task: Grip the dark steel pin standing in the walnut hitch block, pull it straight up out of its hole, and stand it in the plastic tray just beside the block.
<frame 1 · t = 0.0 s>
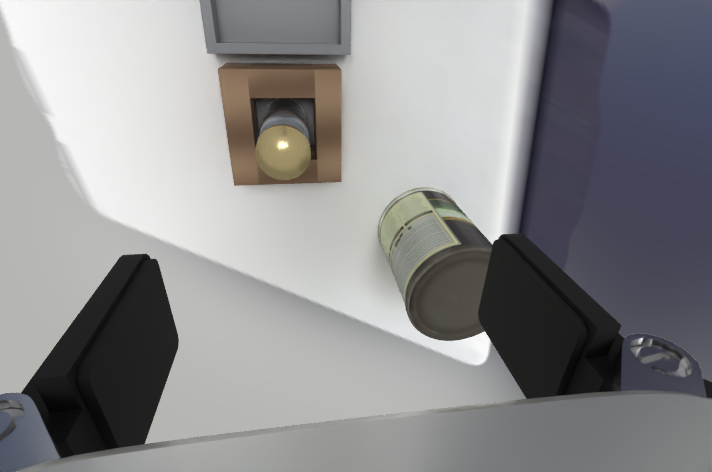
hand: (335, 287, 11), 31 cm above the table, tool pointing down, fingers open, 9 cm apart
coffee can: (418, 225, 47), on the table
steel pin: (284, 133, 33), in the hitch block
hitch block: (286, 118, 39), on the table
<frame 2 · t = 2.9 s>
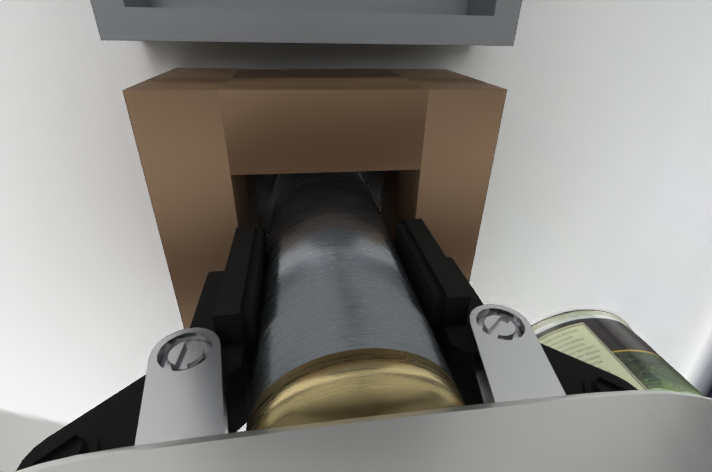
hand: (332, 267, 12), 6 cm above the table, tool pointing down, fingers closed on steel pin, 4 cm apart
coffee can: (554, 367, 25), on the table
steel pin: (332, 270, 12), in the hitch block, touching gripper
hitch block: (320, 193, 17), on the table
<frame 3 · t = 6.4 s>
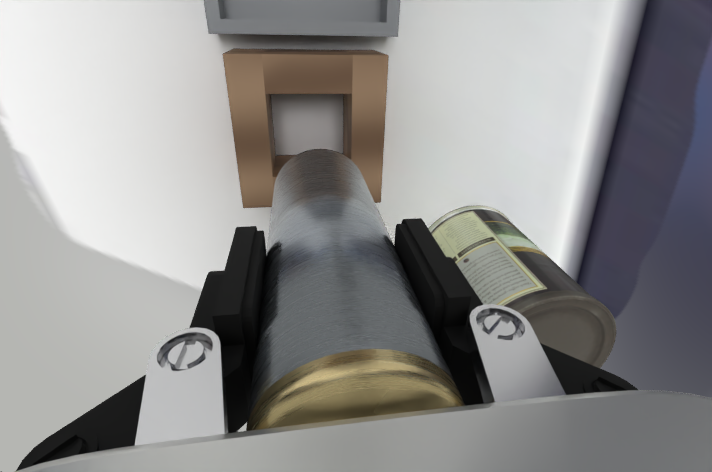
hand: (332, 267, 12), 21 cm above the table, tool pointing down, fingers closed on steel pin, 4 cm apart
coffee can: (464, 250, 39), on the table
steel pin: (332, 271, 12), point 21 cm above the table, touching gripper
hitch block: (308, 120, 30), on the table
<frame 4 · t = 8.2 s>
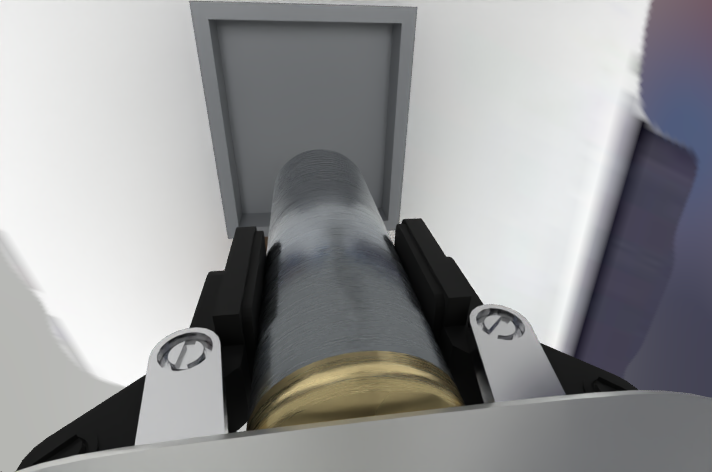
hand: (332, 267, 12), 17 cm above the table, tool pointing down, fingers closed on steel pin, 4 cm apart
steel pin: (332, 272, 12), point 18 cm above the table, touching gripper
tray: (310, 123, 27), on the table
when the fingers open (9 cm above the table, at t = 10.0 s): steel pin drops 2 cm, resting on tray.
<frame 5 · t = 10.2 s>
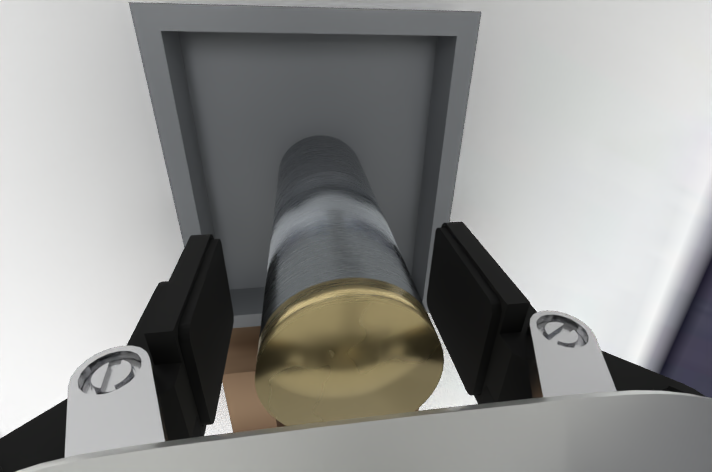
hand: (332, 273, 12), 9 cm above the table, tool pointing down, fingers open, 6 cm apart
steel pin: (330, 238, 13), in the tray, point 7 cm above the table
hitch block: (322, 360, 26), on the table
tray: (317, 172, 19), on the table
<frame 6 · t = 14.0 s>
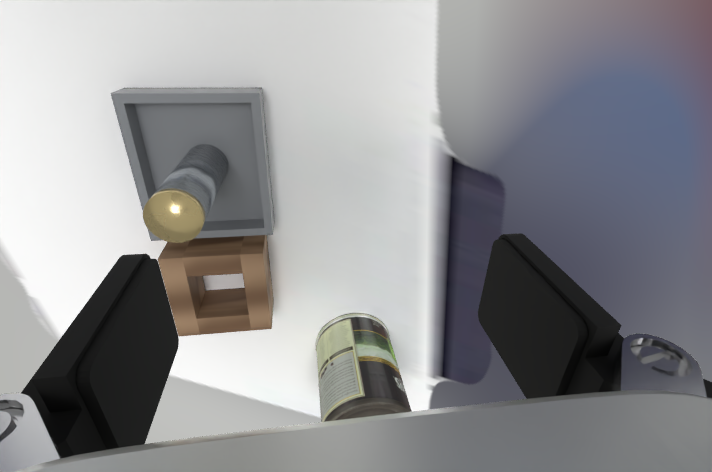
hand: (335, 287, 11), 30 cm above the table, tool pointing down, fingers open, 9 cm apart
coffee can: (352, 340, 54), on the table
steel pin: (193, 187, 33), in the tray, point 7 cm above the table
hitch block: (226, 270, 45), on the table
tray: (207, 161, 39), on the table
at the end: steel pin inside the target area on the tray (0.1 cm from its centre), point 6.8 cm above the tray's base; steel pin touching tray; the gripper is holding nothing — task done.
